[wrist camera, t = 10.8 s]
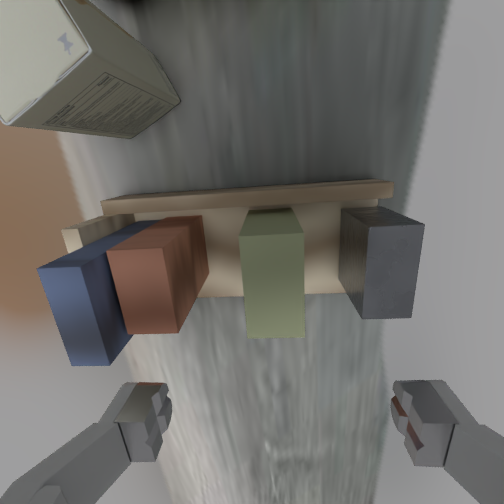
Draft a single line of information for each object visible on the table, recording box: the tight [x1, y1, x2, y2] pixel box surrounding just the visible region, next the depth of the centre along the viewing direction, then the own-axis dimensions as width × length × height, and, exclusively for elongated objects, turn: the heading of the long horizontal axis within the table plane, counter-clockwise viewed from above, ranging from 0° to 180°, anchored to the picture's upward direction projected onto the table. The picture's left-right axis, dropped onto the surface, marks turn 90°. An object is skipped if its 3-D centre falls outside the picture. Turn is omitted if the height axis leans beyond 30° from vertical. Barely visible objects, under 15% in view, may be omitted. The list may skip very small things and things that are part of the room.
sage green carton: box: [238, 208, 305, 339], centre depth 22 cm, size 4×8×9 cm, turn 4°
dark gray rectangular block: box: [338, 206, 425, 319], centre depth 22 cm, size 7×4×7 cm, turn 4°
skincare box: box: [0, 0, 180, 139], centre depth 18 cm, size 6×4×12 cm
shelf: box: [37, 179, 394, 366], centre depth 21 cm, size 11×24×13 cm, turn 94°
